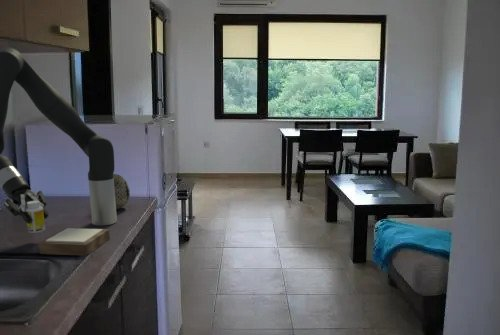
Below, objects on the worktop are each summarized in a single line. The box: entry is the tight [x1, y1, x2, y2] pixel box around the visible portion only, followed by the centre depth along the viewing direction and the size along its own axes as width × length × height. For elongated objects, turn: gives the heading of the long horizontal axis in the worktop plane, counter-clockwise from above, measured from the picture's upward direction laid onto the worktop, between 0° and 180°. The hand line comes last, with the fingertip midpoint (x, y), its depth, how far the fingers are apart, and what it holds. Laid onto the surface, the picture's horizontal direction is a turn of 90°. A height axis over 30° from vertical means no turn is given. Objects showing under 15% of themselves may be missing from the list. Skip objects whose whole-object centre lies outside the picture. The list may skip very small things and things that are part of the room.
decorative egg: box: [113, 173, 131, 210], centre depth 206 cm, size 12×12×15 cm
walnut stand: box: [38, 227, 111, 256], centre depth 161 cm, size 16×16×4 cm
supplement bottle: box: [25, 201, 46, 234], centre depth 165 cm, size 6×6×10 cm
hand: (38, 219), depth 164 cm, fingers closed on supplement bottle, 5 cm apart
